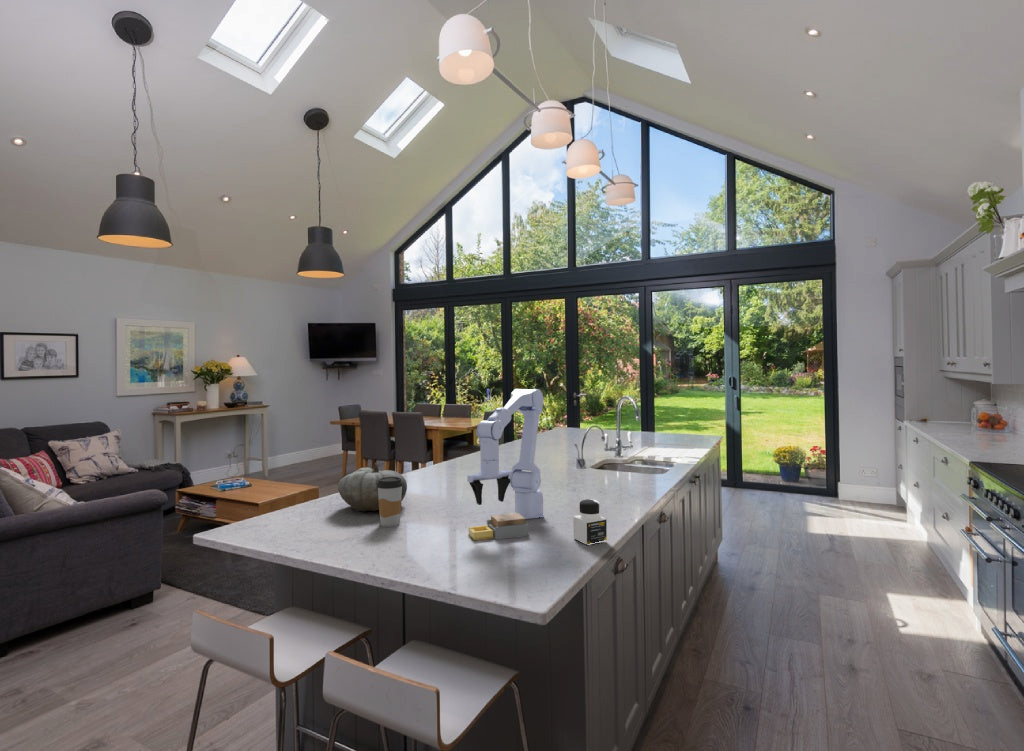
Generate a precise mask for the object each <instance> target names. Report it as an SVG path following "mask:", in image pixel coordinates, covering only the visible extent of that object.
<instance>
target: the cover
mask: <svg viewBox="0 0 1024 751" xmlns="http://www.w3.org/2000/svg"><path fill="white" fill-rule="evenodd" d="M490 520H491V524H492V525H493V526H495V527H501V526H510V525H518V524H527V519H526V518H525V517H523V516H522V515H520V514H519V513H514V512H511V513H504V514H494V515H491V516H490Z"/></svg>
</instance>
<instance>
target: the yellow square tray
mask: <svg viewBox="0 0 1024 751" xmlns="http://www.w3.org/2000/svg"><path fill="white" fill-rule="evenodd" d="M468 536H469V538H471V539H472V541H481V540H482V541H483V540H489V539H490V540H491V539H494V537H493V530H491V529H490V528H489V527H488V526H487V524H485V525H484V524H483V525H476V526H469V527H468Z"/></svg>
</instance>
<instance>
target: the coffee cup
mask: <svg viewBox="0 0 1024 751" xmlns="http://www.w3.org/2000/svg"><path fill="white" fill-rule="evenodd" d="M377 484H378V485H377V487H378V497H379V500H378V501H379V510H378V512H379V521H380V524H381V526H382V527H384V528H385V527H387V528H388V527H389V528H390V527H396V526H399V525H400V523H401V514H402V513H401V512H402V501H403V500H402V498H401V496H402V486H403V485H402V481H401V478H399V477H385V478H380V479H379V481H378V483H377Z"/></svg>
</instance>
